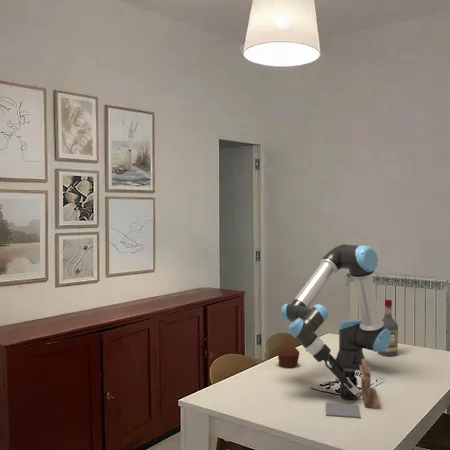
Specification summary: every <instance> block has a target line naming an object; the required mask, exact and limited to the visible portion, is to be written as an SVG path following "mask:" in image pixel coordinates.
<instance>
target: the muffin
mask: <svg viewBox="0 0 450 450" xmlns="http://www.w3.org/2000/svg"><path fill="white" fill-rule="evenodd" d="M276 354H277V358H278V364H279V366H280V367H281V368H282V369H283V368H284V369H295V368H297V367H298V363H299V357H300V351H299V350H298V349H297V348H296V347H295V346H293V345H283V346H281V347H280V348H279V349H278V350H277V352H276Z"/></svg>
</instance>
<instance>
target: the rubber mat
mask: <svg viewBox="0 0 450 450" xmlns="http://www.w3.org/2000/svg"><path fill="white" fill-rule="evenodd" d="M325 416H326V417H338V418H339V417H340V418H351V419H361V418H362V415H361V411H360V406H359V404H356V403H343V402H330V401H329V402H327V401H326V402H325Z"/></svg>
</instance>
